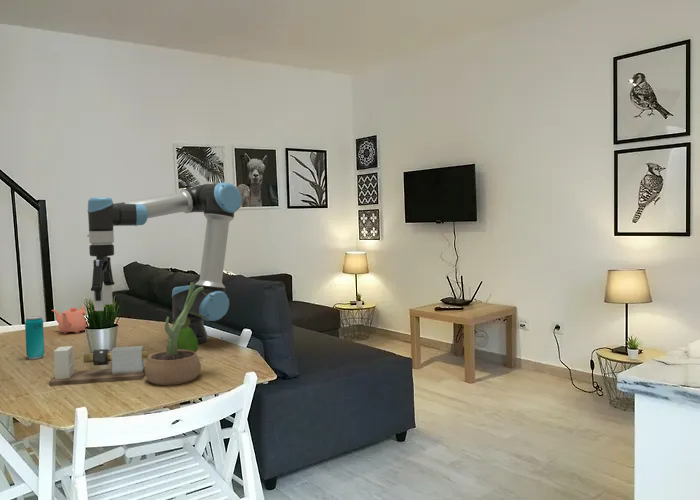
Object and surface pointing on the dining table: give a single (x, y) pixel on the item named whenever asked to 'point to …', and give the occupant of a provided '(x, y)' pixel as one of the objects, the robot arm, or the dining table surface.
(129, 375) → the board
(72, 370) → the socket
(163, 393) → the dining table surface
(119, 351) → the sleeve
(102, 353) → the tube
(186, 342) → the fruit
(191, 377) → the potted plant
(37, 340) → the beverage can
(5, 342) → the dining table surface
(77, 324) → the teapot
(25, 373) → the dining table surface
